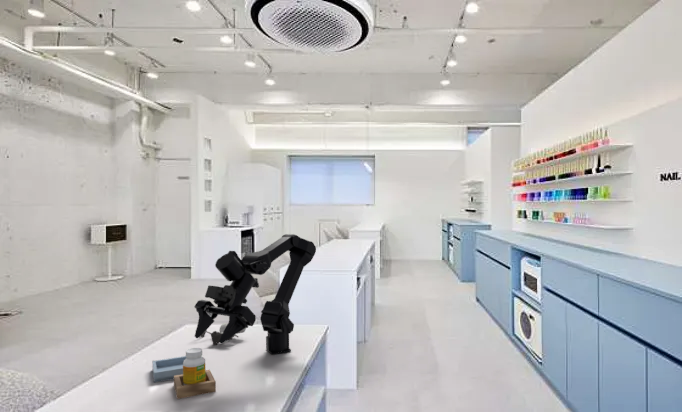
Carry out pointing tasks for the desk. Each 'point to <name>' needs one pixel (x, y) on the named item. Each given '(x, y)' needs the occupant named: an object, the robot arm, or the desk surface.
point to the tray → (167, 368)
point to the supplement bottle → (193, 367)
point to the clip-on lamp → (217, 335)
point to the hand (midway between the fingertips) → (207, 339)
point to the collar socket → (194, 386)
